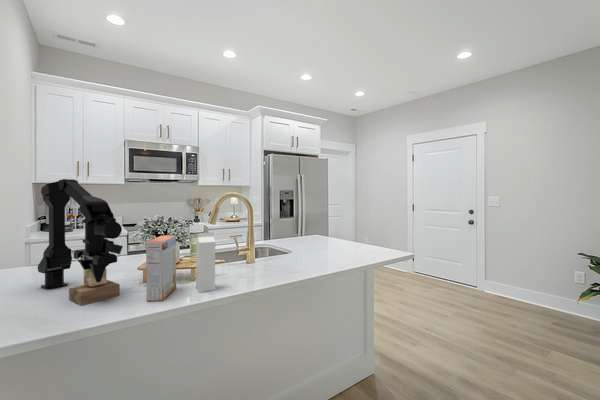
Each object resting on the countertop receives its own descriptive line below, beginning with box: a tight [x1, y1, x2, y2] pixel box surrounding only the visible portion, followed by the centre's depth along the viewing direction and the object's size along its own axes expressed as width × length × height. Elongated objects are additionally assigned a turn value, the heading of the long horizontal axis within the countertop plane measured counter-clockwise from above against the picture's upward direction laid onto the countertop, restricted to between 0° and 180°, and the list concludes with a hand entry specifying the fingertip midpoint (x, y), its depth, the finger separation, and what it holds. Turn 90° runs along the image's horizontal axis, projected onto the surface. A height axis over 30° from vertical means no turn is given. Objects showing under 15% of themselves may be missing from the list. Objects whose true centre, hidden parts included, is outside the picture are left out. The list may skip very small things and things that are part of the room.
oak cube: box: [83, 268, 107, 287], centre depth 103 cm, size 5×5×5 cm
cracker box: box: [145, 234, 177, 302], centre depth 107 cm, size 14×6×21 cm, turn 5°
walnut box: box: [68, 279, 121, 306], centre depth 103 cm, size 9×12×4 cm
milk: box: [195, 232, 216, 294], centre depth 114 cm, size 6×6×22 cm
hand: (94, 280), depth 103 cm, fingers closed on oak cube, 5 cm apart
